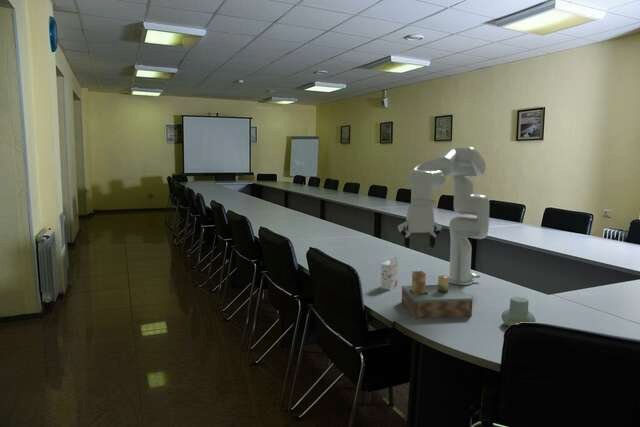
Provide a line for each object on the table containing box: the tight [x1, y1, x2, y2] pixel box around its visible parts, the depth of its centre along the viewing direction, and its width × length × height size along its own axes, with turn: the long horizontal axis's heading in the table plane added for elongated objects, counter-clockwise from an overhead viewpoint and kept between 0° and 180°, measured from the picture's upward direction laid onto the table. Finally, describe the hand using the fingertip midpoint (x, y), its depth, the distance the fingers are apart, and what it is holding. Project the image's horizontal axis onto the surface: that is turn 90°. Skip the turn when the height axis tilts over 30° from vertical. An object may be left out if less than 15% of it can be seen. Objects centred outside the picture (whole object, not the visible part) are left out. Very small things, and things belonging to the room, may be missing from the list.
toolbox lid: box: [401, 275, 473, 303], centre depth 169 cm, size 22×18×7 cm
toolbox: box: [401, 288, 473, 319], centre depth 170 cm, size 22×18×6 cm
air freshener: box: [501, 296, 536, 327], centre depth 152 cm, size 11×8×10 cm
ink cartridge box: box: [380, 255, 399, 291], centre depth 198 cm, size 9×5×15 cm, turn 148°
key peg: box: [411, 270, 427, 295], centre depth 168 cm, size 4×4×15 cm
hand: (419, 247), depth 166 cm, fingers open, 9 cm apart
